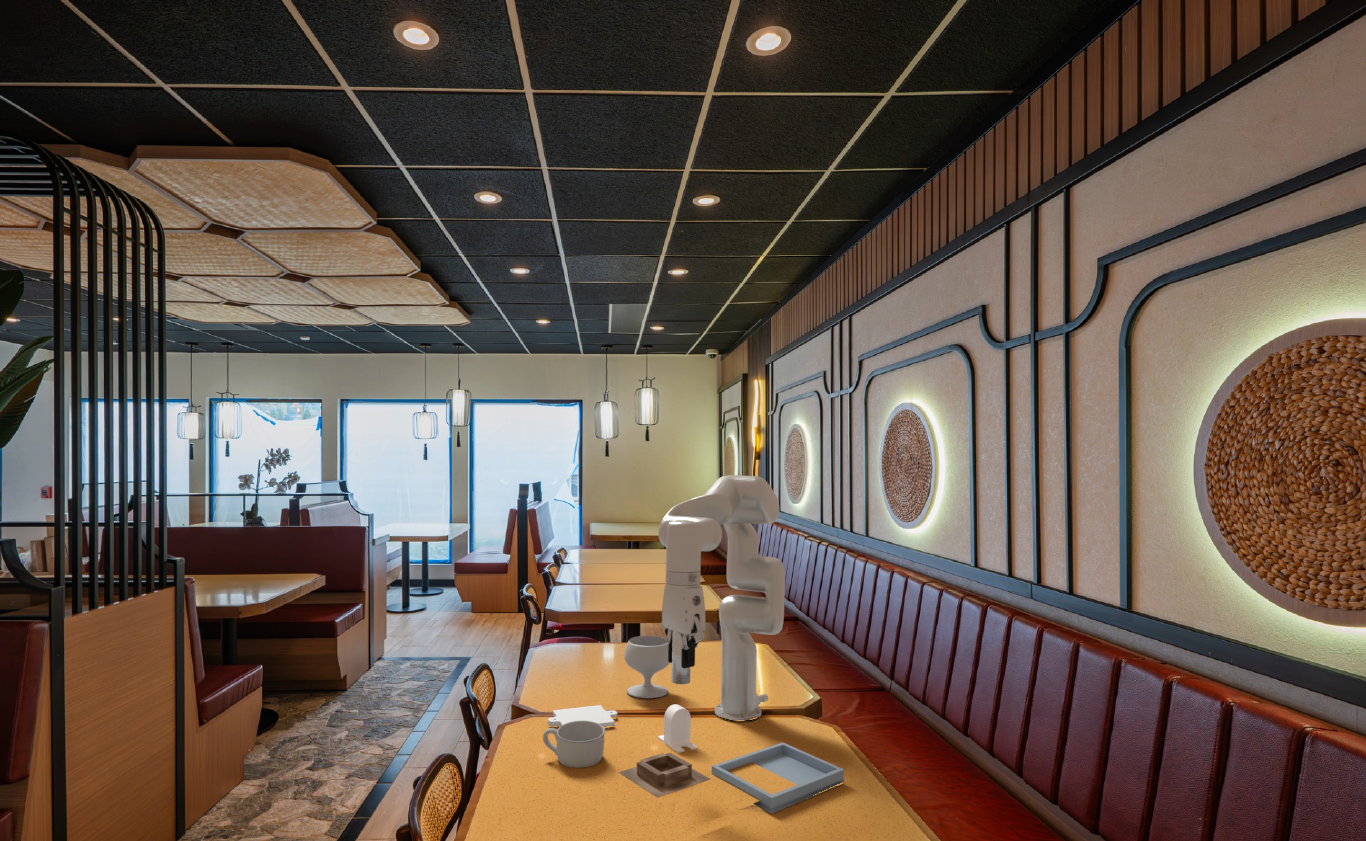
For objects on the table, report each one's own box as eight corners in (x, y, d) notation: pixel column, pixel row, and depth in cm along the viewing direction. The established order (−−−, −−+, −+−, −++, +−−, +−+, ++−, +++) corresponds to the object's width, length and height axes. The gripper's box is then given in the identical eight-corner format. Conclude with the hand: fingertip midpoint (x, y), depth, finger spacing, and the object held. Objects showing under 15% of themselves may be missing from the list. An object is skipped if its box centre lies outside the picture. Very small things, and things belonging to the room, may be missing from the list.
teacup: (612, 760, 165) (612, 724, 165) (590, 780, 155) (591, 741, 155) (557, 750, 170) (558, 715, 170) (533, 769, 159) (534, 732, 160)
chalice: (670, 701, 205) (671, 647, 205) (621, 700, 205) (622, 646, 206) (672, 685, 219) (673, 635, 219) (625, 684, 219) (626, 634, 220)
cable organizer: (676, 740, 177) (677, 698, 178) (697, 755, 169) (698, 711, 169) (657, 744, 175) (658, 702, 175) (678, 759, 166) (679, 715, 167)
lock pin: (682, 677, 158) (683, 621, 159) (693, 682, 155) (695, 625, 156) (667, 680, 156) (668, 624, 156) (679, 685, 153) (680, 628, 153)
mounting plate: (554, 737, 179) (554, 729, 179) (543, 719, 191) (543, 711, 191) (623, 728, 185) (624, 720, 186) (609, 711, 197) (609, 703, 198)
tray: (782, 755, 170) (782, 742, 170) (843, 783, 156) (844, 769, 156) (711, 780, 156) (711, 765, 156) (771, 813, 142) (771, 798, 142)
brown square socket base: (669, 763, 164) (670, 745, 164) (710, 786, 153) (710, 766, 153) (618, 779, 155) (618, 760, 156) (657, 805, 144) (657, 784, 145)
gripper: (721, 582, 152) (720, 671, 151) (673, 571, 165) (672, 652, 165) (693, 586, 147) (691, 677, 147) (646, 574, 161) (644, 657, 160)
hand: (681, 663), depth 156 cm, fingers closed on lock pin, 4 cm apart
